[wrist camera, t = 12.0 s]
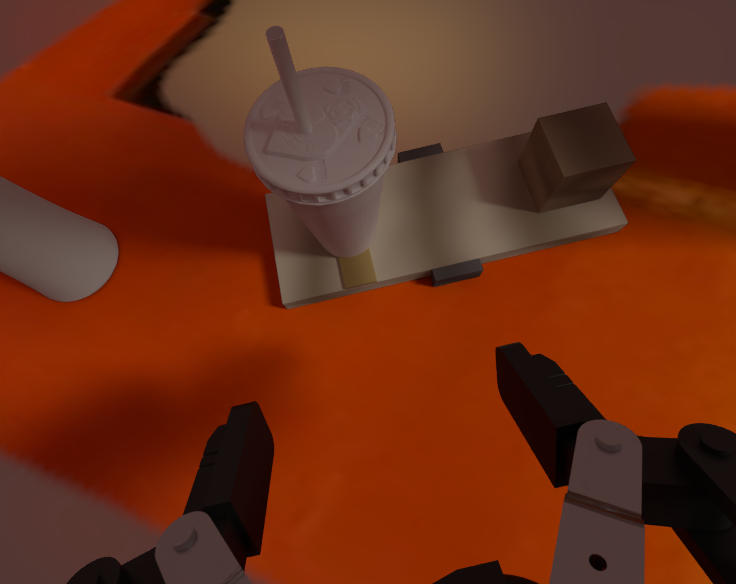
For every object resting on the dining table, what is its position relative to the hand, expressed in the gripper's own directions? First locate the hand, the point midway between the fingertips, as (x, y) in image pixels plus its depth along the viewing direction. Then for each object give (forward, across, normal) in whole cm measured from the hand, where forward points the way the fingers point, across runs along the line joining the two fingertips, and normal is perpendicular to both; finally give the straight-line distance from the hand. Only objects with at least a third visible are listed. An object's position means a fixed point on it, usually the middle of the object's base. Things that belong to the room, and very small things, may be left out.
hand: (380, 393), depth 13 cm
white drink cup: (+14, 0, -1) cm, 15 cm away
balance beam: (+15, -6, 0) cm, 17 cm away
